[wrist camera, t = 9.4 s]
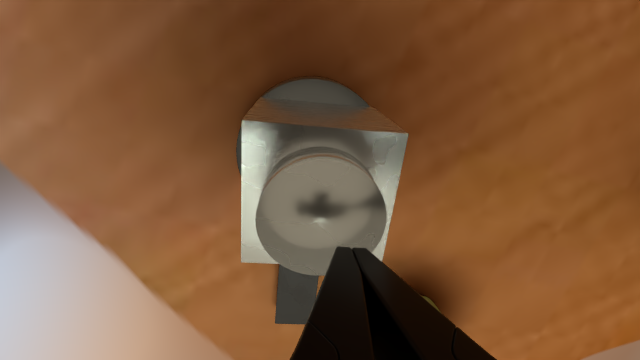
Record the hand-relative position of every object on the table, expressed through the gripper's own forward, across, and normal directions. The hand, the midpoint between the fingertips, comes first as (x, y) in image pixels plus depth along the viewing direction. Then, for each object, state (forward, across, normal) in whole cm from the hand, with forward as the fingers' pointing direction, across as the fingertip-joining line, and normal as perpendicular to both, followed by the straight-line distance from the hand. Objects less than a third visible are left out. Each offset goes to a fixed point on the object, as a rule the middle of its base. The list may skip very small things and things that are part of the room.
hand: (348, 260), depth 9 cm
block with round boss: (+9, +1, 0) cm, 9 cm away
